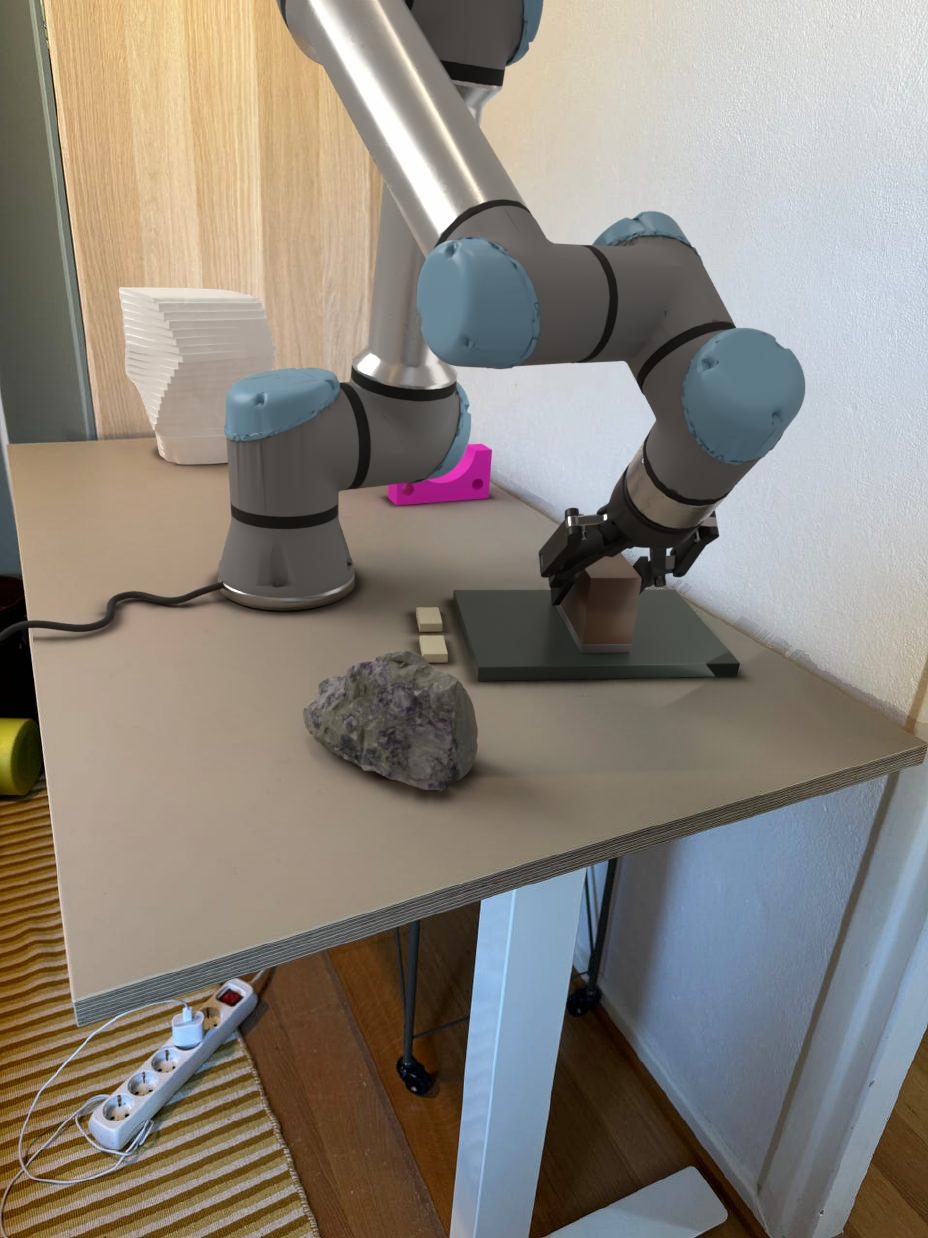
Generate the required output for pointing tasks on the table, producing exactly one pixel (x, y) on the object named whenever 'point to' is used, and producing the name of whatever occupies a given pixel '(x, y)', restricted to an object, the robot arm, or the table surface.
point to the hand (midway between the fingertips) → (590, 593)
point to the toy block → (450, 481)
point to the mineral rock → (398, 720)
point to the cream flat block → (433, 648)
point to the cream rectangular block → (429, 619)
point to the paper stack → (192, 362)
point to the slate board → (544, 649)
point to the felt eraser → (603, 606)
